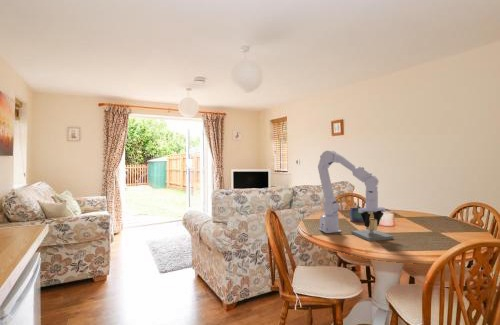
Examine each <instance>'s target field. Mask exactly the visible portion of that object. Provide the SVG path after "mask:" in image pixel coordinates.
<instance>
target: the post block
mask: <svg viewBox="0 0 500 325" xmlns="http://www.w3.org/2000/svg"><path fill="white" fill-rule="evenodd" d="M350 232H351V233H350V234H351V235H353V236H356V237H358V238H361V239H363V240H364V241H367V242H374V241H375V242H376V241H387V240H394V235H392V234H388V233H387V232H383V231H380V230H378V229H377V230H367V229H360V230H350Z"/></svg>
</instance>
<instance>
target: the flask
mask: <svg viewBox="0 0 500 325" xmlns="http://www.w3.org/2000/svg"><path fill="white" fill-rule="evenodd" d="M360 208H364V207H363V206H362V207H361V206H360V205H359V204H356V206H355V207H354V206H352V207H350V210H349V222H352V223H353V222H354V223H363V224H364V221H363V218H362V216H361V214H360V213H359V212H358V209H360Z"/></svg>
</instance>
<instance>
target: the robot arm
mask: <svg viewBox="0 0 500 325" xmlns="http://www.w3.org/2000/svg"><path fill="white" fill-rule="evenodd" d="M319 157H320V159H319V162H318V165H317V169H318V170H317V171H318V174H319V179H320V183H321V188H322V193H323V212H324V214H323V215H321V216H320V217H319V230H320V231H321V232H324V233H326V234H330V233H342V230H341V229H339V213H338V212H339V210H340V204H339V203H338V201H337V199H336V197H335V195H334V189H333V187H332V186H333V185H332V181H331V177H330V173H329V168H330V167H331V165H333V163H337V164H340V165H342V166H343V167H345V168H346V169H347V170H349V171H351V172H352V176H353V177H355V178H356V179H357V180H359V181H361V182H362V183H364V186H365V207H363V208H362V207H360V209H358V212H359V213H360V214H361V216H362V218H363V221H364V223H363V224H364V227H365V228H366V227H369V218H371V213H372V214H373V219H377V227H379V225H380V221H381V220H382V217H383V216H384V212H386V207H379V206H378V205H379V199H378V198H379V191H378V185H379V179H378V177H377V176H376V175H373V173H371V172H368V171H367V170H366V169H365V167H363V166H355V164H353V163H352V162H350V161H349V160H348V159H347V158H346V157H344V156H343V155H341V154H340V153H337V152H336V151H335V150H325V151H323V152H322V153H321V155H320V156H319Z"/></svg>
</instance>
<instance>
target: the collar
mask: <svg viewBox="0 0 500 325" xmlns="http://www.w3.org/2000/svg"><path fill="white" fill-rule="evenodd" d="M365 230H378V226H377V219H374V217H373V218H372V217H370V218H369V227H366V226H365Z"/></svg>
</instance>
